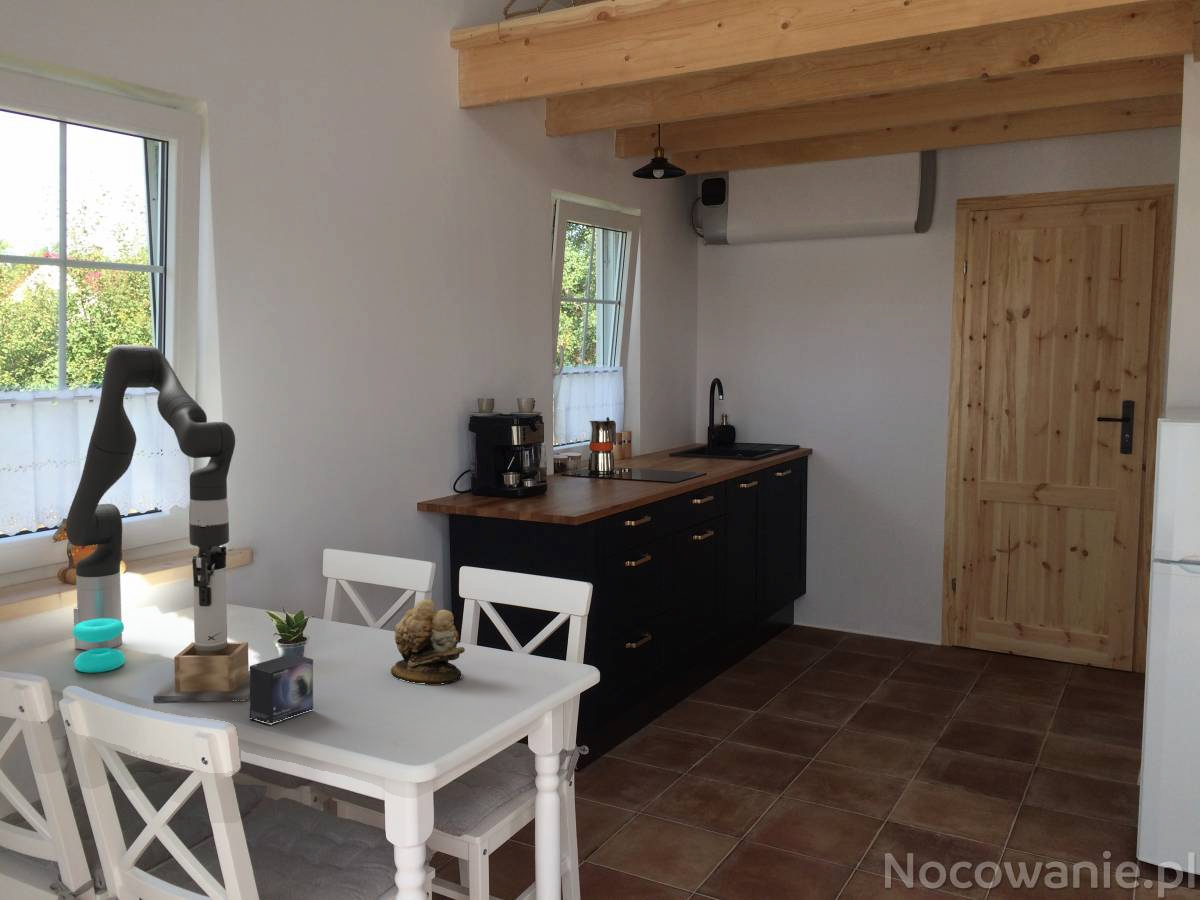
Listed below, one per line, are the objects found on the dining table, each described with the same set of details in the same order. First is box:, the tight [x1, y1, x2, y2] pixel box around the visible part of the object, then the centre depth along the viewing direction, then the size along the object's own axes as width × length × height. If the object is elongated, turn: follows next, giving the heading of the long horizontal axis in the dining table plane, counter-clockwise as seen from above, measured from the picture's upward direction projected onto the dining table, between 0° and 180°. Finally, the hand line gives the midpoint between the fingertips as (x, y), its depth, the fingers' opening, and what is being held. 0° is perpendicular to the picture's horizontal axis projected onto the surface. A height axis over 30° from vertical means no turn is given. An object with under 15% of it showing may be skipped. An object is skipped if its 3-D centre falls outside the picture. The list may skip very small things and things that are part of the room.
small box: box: [248, 653, 314, 723], centre depth 193 cm, size 11×6×10 cm, turn 148°
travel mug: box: [192, 550, 228, 652], centre depth 207 cm, size 6×7×20 cm
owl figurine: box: [390, 598, 465, 684], centre depth 218 cm, size 18×12×17 cm, turn 62°
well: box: [152, 641, 250, 702], centre depth 208 cm, size 18×16×8 cm
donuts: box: [72, 618, 126, 674], centre depth 222 cm, size 10×10×10 cm
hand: (210, 601), depth 207 cm, fingers closed on travel mug, 6 cm apart
